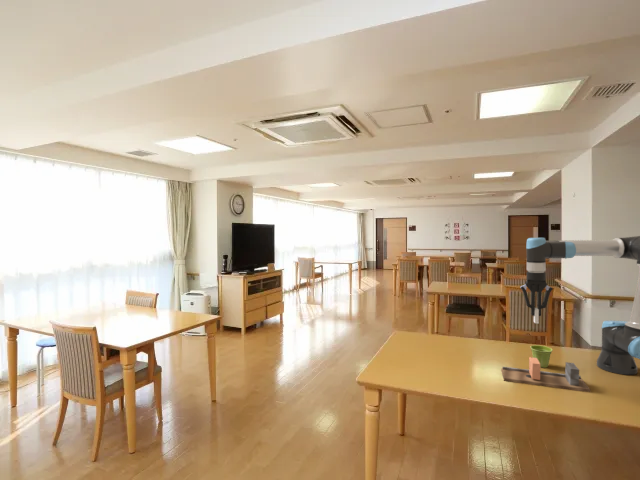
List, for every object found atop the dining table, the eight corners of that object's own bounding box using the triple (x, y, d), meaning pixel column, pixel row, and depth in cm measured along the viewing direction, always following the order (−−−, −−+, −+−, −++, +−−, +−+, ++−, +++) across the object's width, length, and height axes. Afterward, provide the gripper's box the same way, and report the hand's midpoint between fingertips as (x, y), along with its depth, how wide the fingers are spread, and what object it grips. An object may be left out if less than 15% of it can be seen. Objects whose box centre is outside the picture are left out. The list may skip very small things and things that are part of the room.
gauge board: (581, 380, 161) (581, 362, 161) (590, 392, 150) (590, 372, 150) (501, 370, 173) (501, 353, 172) (504, 380, 161) (504, 362, 161)
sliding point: (536, 373, 165) (536, 357, 165) (540, 379, 158) (540, 364, 158) (529, 372, 167) (529, 357, 166) (532, 378, 159) (532, 363, 159)
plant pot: (555, 369, 173) (556, 352, 173) (534, 368, 175) (534, 350, 175) (547, 362, 182) (547, 345, 182) (527, 361, 184) (527, 344, 184)
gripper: (550, 270, 166) (550, 321, 167) (518, 270, 171) (518, 319, 172) (554, 272, 159) (554, 325, 160) (521, 272, 164) (521, 323, 164)
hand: (536, 322), depth 166 cm, fingers closed
